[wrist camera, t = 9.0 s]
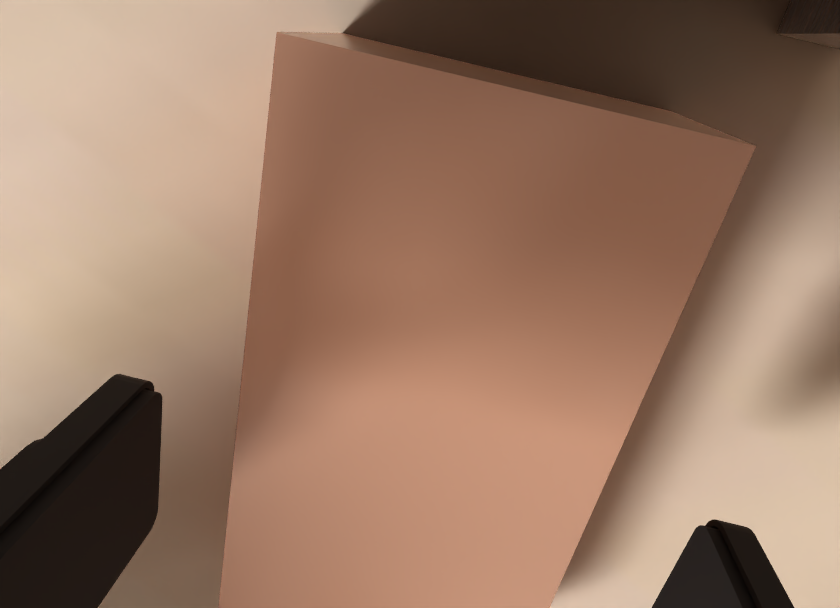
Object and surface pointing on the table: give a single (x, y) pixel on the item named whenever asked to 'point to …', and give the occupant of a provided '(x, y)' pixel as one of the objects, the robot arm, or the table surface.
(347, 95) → the terracotta slab
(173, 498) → the table surface
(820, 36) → the grey open-ended tunnel
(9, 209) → the table surface
